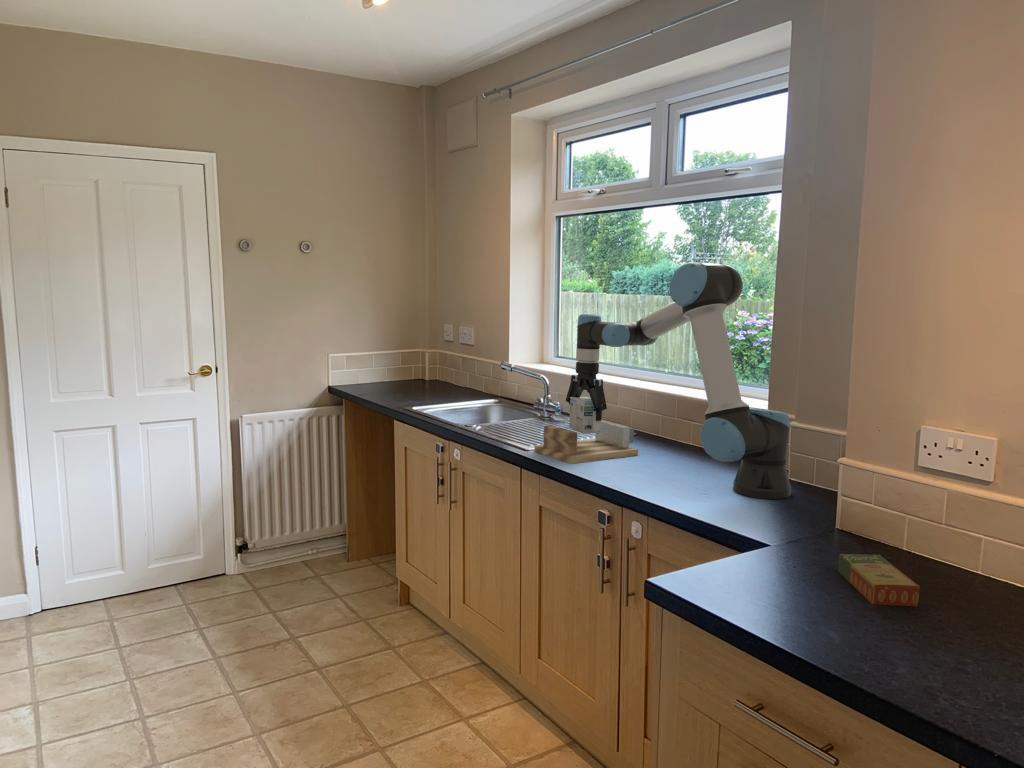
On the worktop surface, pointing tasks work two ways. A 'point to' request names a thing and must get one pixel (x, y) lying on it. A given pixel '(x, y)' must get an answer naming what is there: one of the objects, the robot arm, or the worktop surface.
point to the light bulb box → (582, 415)
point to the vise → (578, 447)
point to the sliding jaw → (615, 434)
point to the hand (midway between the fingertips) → (584, 427)
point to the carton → (878, 580)
